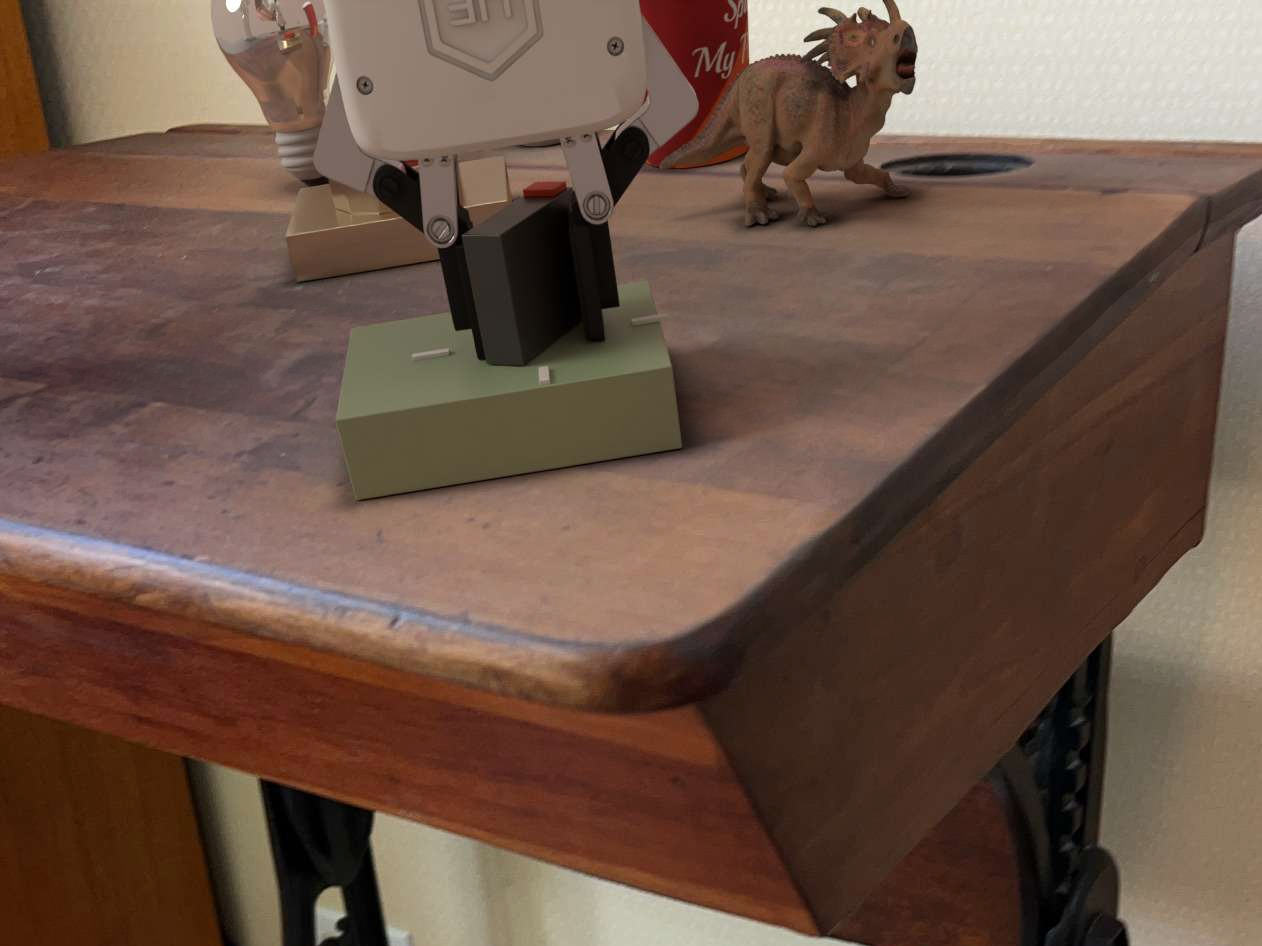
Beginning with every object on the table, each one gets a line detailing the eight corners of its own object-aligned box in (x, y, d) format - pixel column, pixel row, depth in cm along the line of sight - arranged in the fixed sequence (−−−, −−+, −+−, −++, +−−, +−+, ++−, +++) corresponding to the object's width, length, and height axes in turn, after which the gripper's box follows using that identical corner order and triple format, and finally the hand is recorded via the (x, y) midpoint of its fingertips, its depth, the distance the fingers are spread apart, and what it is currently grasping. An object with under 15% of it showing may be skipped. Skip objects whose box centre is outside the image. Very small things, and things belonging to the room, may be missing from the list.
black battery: (524, 366, 59) (498, 227, 56) (486, 364, 60) (459, 227, 57) (592, 312, 63) (572, 179, 60) (555, 311, 64) (534, 179, 60)
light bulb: (392, 177, 95) (340, -65, 88) (282, 209, 93) (218, -37, 85) (346, 159, 100) (292, -71, 92) (240, 189, 98) (176, -45, 90)
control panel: (355, 500, 60) (333, 415, 58) (368, 401, 67) (349, 323, 65) (691, 447, 59) (681, 359, 57) (666, 354, 67) (656, 274, 65)
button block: (297, 282, 82) (274, 196, 79) (310, 231, 88) (290, 151, 86) (515, 247, 81) (500, 160, 79) (512, 199, 88) (498, 117, 86)
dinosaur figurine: (963, 191, 79) (962, -31, 73) (920, 230, 75) (915, -1, 69) (710, 189, 85) (689, -17, 79) (658, 225, 81) (632, 12, 75)
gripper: (145, -223, 47) (314, 407, 59) (716, -316, 47) (771, 339, 58) (188, -239, 53) (334, 337, 65) (696, -323, 52) (750, 274, 64)
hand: (540, 332), depth 61 cm, fingers closed on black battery, 3 cm apart
